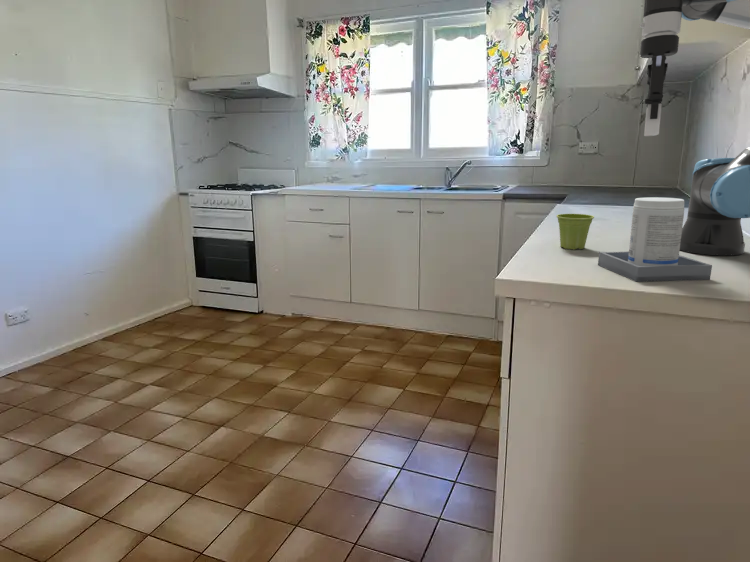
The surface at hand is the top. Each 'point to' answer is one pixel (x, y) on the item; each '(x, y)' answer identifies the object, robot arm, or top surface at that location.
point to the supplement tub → (656, 231)
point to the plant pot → (574, 230)
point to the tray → (655, 268)
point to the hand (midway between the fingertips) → (650, 135)
